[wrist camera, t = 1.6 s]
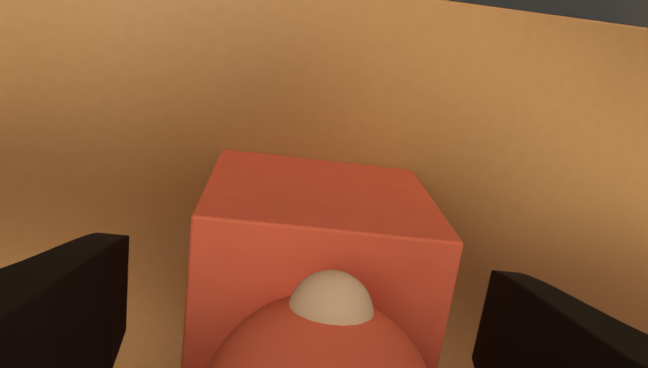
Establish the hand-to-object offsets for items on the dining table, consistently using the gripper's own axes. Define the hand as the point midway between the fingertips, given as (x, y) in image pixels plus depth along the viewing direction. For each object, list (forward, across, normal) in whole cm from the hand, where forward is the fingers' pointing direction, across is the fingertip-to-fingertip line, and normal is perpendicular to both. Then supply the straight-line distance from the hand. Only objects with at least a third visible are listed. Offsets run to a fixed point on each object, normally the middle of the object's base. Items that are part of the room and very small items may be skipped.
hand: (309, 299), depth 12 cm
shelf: (+8, -1, 0) cm, 8 cm away
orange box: (+3, 0, 0) cm, 3 cm away
